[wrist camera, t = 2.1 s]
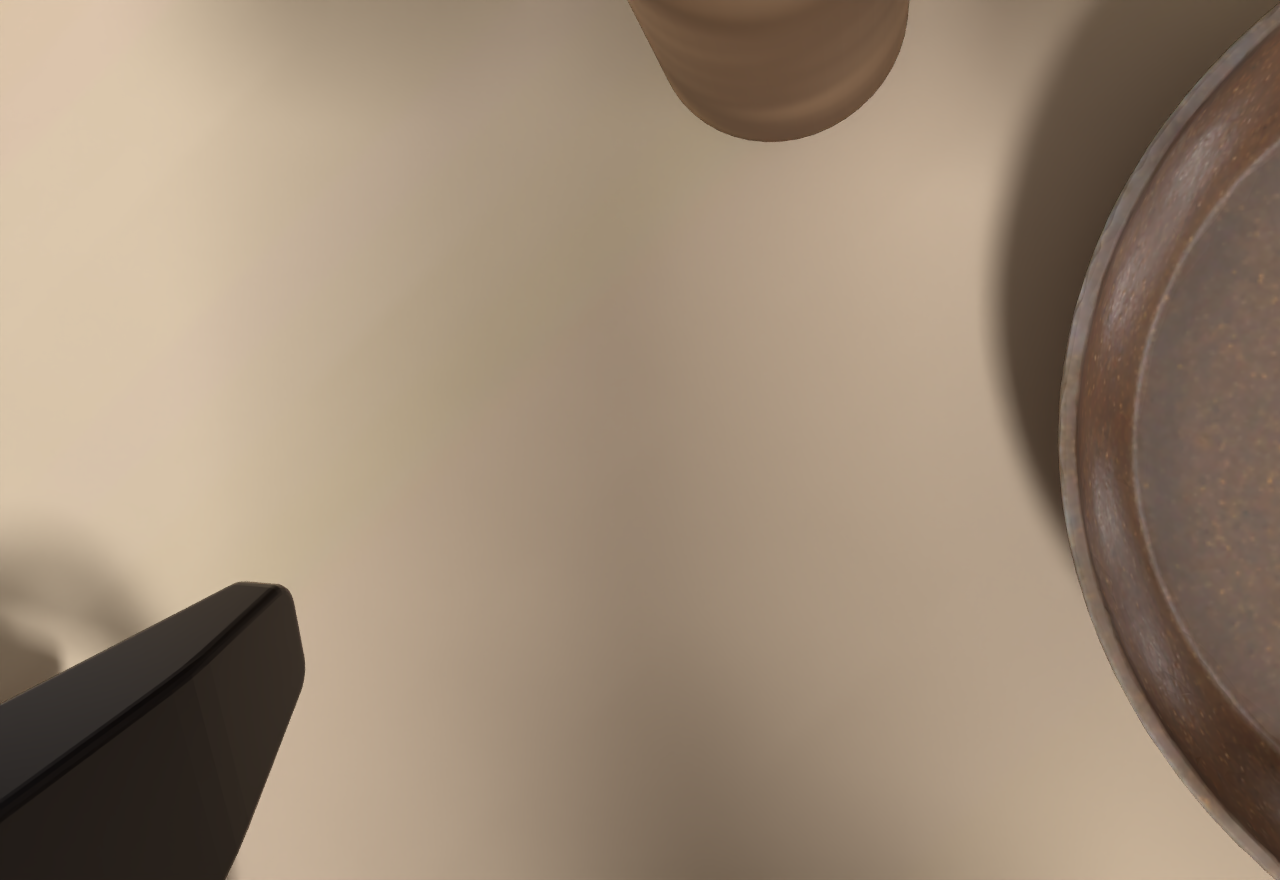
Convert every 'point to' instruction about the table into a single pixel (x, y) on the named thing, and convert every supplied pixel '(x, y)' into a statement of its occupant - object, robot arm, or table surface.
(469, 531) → the table surface
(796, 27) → the pepper mill
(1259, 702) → the plant saucer
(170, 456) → the table surface
